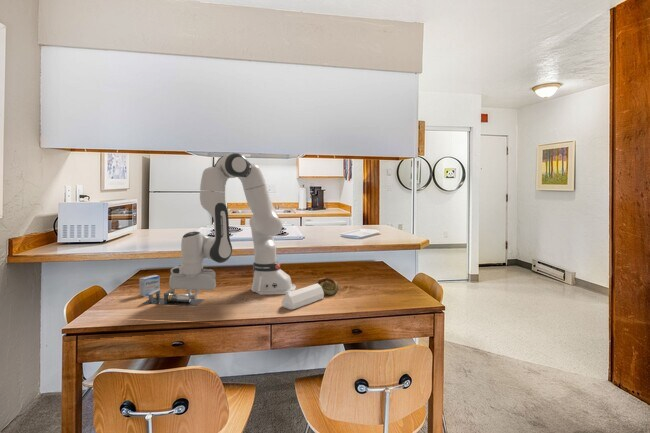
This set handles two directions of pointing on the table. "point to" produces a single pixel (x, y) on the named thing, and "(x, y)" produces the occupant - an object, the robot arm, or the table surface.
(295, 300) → the white chamfered bar
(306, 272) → the table surface
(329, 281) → the pastry
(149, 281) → the medicine box
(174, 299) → the tube
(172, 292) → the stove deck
